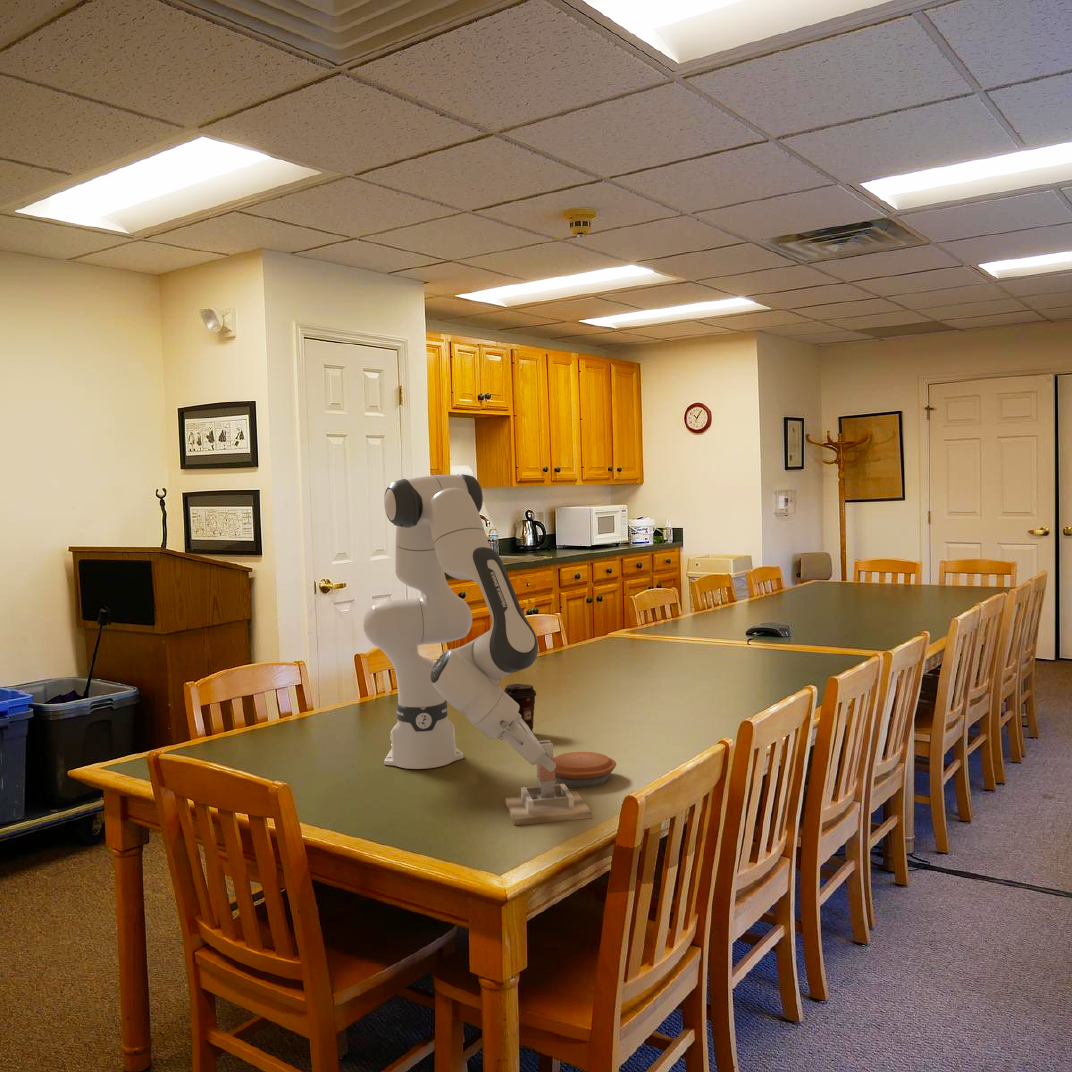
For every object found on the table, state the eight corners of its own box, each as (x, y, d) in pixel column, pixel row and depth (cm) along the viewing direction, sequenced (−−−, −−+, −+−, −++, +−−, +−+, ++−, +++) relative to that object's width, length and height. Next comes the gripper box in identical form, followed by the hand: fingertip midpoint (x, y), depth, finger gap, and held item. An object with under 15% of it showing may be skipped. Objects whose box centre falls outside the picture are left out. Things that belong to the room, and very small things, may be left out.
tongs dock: (505, 803, 194) (504, 785, 194) (577, 797, 197) (576, 779, 197) (515, 825, 182) (514, 806, 181) (591, 818, 184) (590, 799, 184)
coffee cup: (508, 740, 243) (506, 690, 242) (500, 733, 251) (498, 684, 250) (541, 737, 245) (539, 687, 244) (532, 729, 253) (530, 681, 252)
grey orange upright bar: (535, 801, 191) (533, 740, 190) (554, 800, 192) (552, 739, 191) (539, 809, 187) (537, 746, 186) (558, 807, 187) (556, 744, 187)
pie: (612, 768, 217) (611, 746, 217) (620, 789, 201) (620, 766, 201) (544, 771, 216) (543, 749, 216) (548, 792, 201) (547, 769, 201)
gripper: (517, 716, 177) (570, 764, 179) (502, 693, 197) (549, 736, 199) (494, 742, 176) (547, 789, 178) (481, 716, 196) (529, 759, 198)
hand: (548, 761), depth 189 cm, fingers open, 8 cm apart
